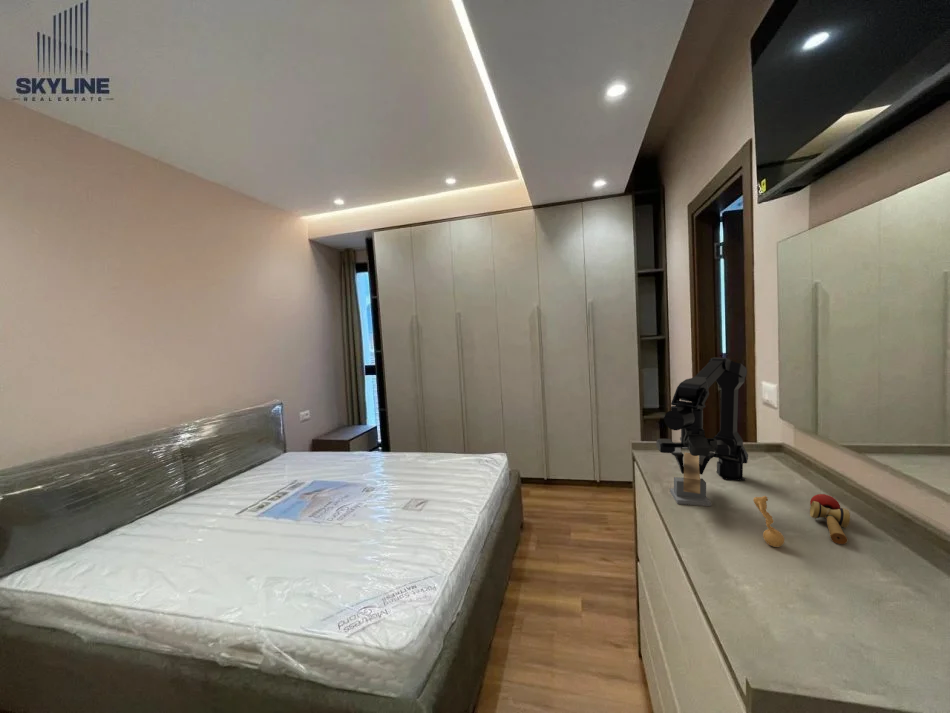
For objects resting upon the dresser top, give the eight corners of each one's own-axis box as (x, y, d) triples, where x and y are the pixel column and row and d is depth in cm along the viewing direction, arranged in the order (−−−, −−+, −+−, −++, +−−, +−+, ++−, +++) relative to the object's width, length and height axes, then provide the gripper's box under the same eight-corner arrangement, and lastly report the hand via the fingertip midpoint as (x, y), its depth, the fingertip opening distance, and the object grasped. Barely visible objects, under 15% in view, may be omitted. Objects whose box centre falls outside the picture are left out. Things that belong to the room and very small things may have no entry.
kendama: (865, 555, 85) (844, 510, 100) (861, 530, 85) (840, 489, 99) (821, 550, 90) (806, 508, 104) (816, 526, 89) (802, 488, 104)
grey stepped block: (701, 493, 115) (701, 475, 114) (711, 506, 107) (711, 486, 107) (669, 491, 117) (669, 473, 117) (677, 503, 109) (677, 484, 109)
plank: (698, 465, 120) (698, 454, 120) (700, 493, 101) (700, 480, 101) (684, 463, 122) (684, 452, 122) (683, 491, 103) (683, 477, 103)
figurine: (787, 557, 83) (788, 507, 82) (754, 549, 87) (755, 501, 86) (781, 538, 90) (782, 492, 89) (750, 532, 94) (751, 487, 93)
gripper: (665, 430, 105) (665, 483, 106) (739, 432, 100) (738, 487, 101) (655, 420, 115) (655, 468, 117) (722, 421, 111) (721, 471, 112)
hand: (691, 473), depth 111 cm, fingers closed on plank, 5 cm apart
